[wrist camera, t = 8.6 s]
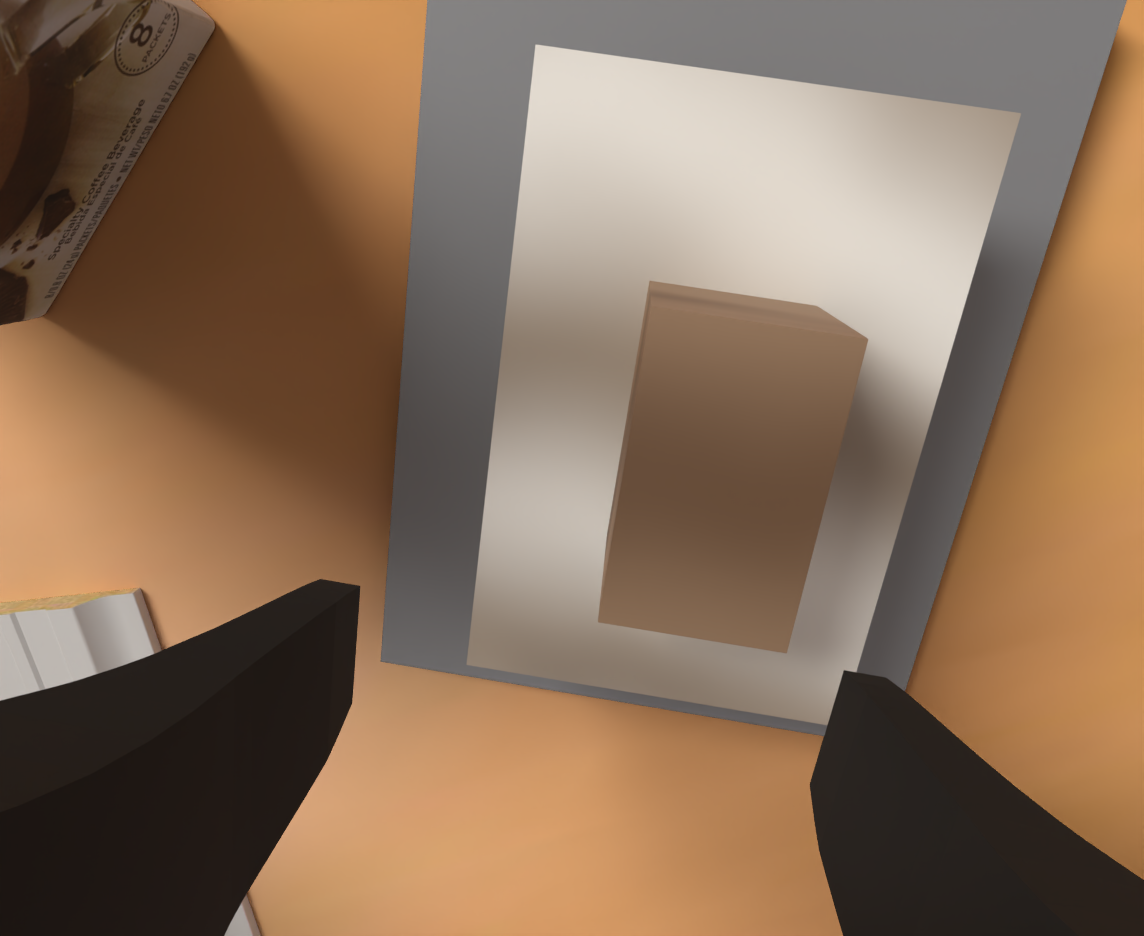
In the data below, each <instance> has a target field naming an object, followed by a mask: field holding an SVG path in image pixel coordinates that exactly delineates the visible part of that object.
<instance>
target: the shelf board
mask: <svg viewBox="0 0 1144 936" xmlns="http://www.w3.org/2000/svg"><path fill="white" fill-rule="evenodd" d="M1020 116H1021V113H1016V112H1009V111H1002V110H995V109H988V108H981V107H973V106H966V105H959V104H952V103H945V102H938V101H931V100H924V99H917V98H910V97H903V96H896V95H889V94H882V93H875V92H868V91H861V90H854V89H846V88H839V87H832V86H825V85H818V84H811V83H804V82H797V81H790V80H783V79H776V78H769V77H762V76H755V75H748V74H741V73H734V72H726V71H719V70H712V69H705V68H698V67H691V66H684V65H677V64H670V63H663V62H656V61H649V60H642V59H635V58H628V57H621V56H614V55H606V54H599V53H592V52H585V51H578V50H571V49H564V48H557V47H550V46H543V45H535V54H534V63H533V72H532V81H531V90H530V99H529V108H528V117H527V126H526V135H525V144H524V153H523V162H522V171H521V180H520V189H519V198H518V207H517V216H516V225H515V234H514V243H513V252H512V261H511V270H510V279H509V287H508V296H507V305H506V314H505V323H504V332H503V341H502V350H501V359H500V368H499V377H498V386H497V395H496V404H495V413H494V422H493V431H492V440H491V449H490V458H489V467H488V476H487V485H486V494H485V503H484V512H483V521H482V530H481V539H480V548H479V557H478V566H477V575H476V584H475V593H474V602H473V611H472V620H471V629H470V638H469V647H468V656H467V665H471V666H477V667H483V668H489V669H495V670H501V671H507V672H513V673H519V674H525V675H530V676H536V677H542V678H548V679H554V680H560V681H566V682H572V683H578V684H584V685H590V686H596V687H602V688H608V689H614V690H620V691H626V692H632V693H638V694H644V695H650V696H656V697H662V698H668V699H674V700H680V701H686V702H692V703H697V704H703V705H709V706H715V707H721V708H727V709H733V710H739V711H745V712H751V713H757V714H763V715H769V716H775V717H781V718H787V719H793V720H799V721H805V722H811V723H817V724H823V725H828V722H829V718H830V715H831V712H832V708H833V705H834V702H835V698H836V695H837V692H838V688H839V685H840V681H841V678H842V675H843V671H844V670H846V671H852V672H856V671H857V668H858V665H859V661H860V658H861V654H862V651H863V648H864V644H865V641H866V637H867V634H868V631H869V627H870V624H871V621H872V617H873V614H874V610H875V607H876V604H877V600H878V597H879V593H880V590H881V587H882V583H883V580H884V577H885V573H886V570H887V566H888V563H889V560H890V556H891V553H892V549H893V546H894V543H895V539H896V536H897V532H898V529H899V526H900V522H901V519H902V516H903V512H904V509H905V505H906V502H907V499H908V495H909V492H910V488H911V485H912V482H913V478H914V475H915V472H916V468H917V465H918V461H919V458H920V455H921V451H922V448H923V444H924V441H925V438H926V434H927V431H928V427H929V424H930V421H931V417H932V414H933V411H934V407H935V404H936V400H937V397H938V394H939V390H940V387H941V383H942V380H943V377H944V373H945V370H946V367H947V363H948V360H949V356H950V353H951V350H952V346H953V343H954V339H955V336H956V333H957V329H958V326H959V322H960V319H961V316H962V312H963V309H964V306H965V302H966V299H967V295H968V292H969V289H970V285H971V282H972V278H973V275H974V272H975V268H976V265H977V262H978V258H979V255H980V251H981V248H982V245H983V241H984V238H985V234H986V231H987V228H988V224H989V221H990V217H991V214H992V211H993V207H994V204H995V201H996V197H997V194H998V190H999V187H1000V184H1001V180H1002V177H1003V173H1004V170H1005V167H1006V163H1007V160H1008V156H1009V153H1010V150H1011V146H1012V143H1013V140H1014V136H1015V133H1016V129H1017V126H1018V123H1019V119H1020Z"/></svg>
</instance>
